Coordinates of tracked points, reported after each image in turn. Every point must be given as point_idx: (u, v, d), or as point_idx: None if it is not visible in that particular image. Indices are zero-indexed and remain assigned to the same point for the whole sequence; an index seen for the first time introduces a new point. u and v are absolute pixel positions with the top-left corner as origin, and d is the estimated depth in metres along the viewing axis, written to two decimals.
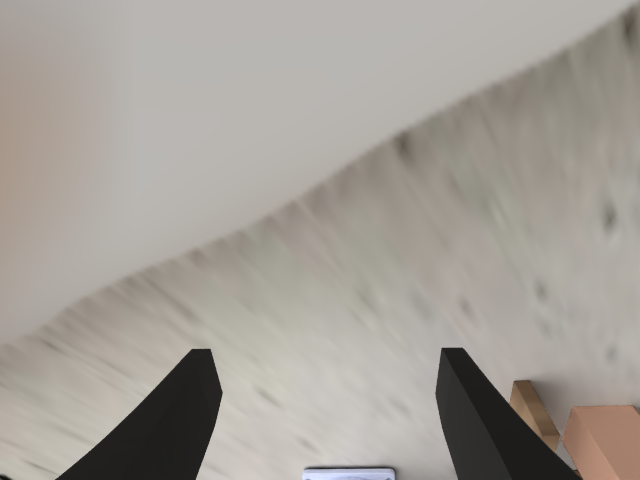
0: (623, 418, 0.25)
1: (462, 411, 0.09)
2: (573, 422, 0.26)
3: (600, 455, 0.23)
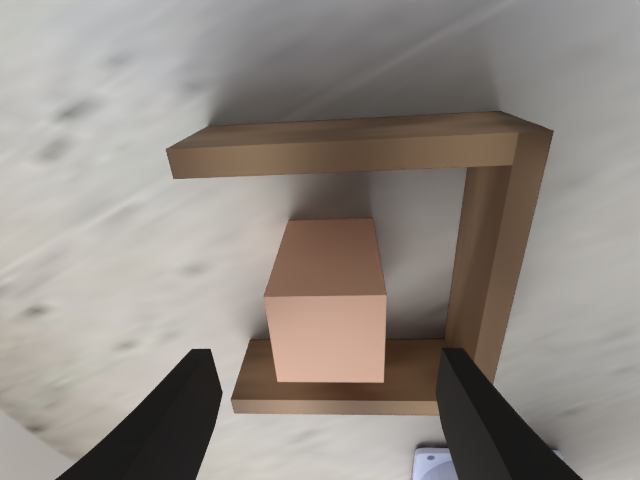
0: None
1: (462, 411, 0.09)
2: None
3: None
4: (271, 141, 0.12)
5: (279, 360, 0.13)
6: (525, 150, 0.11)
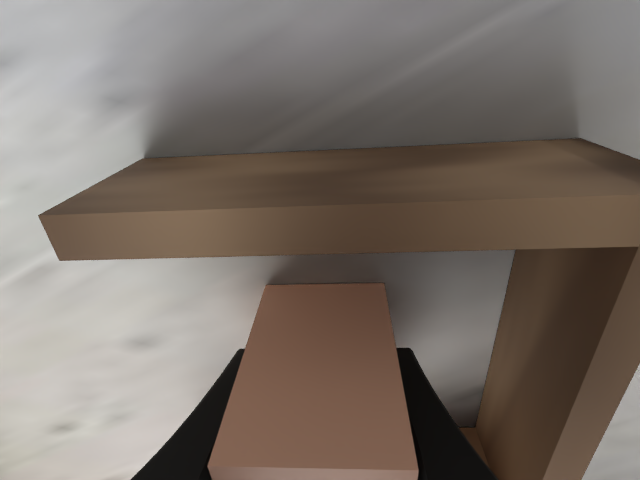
0: None
1: None
2: None
3: None
4: (220, 201, 0.07)
5: None
6: None
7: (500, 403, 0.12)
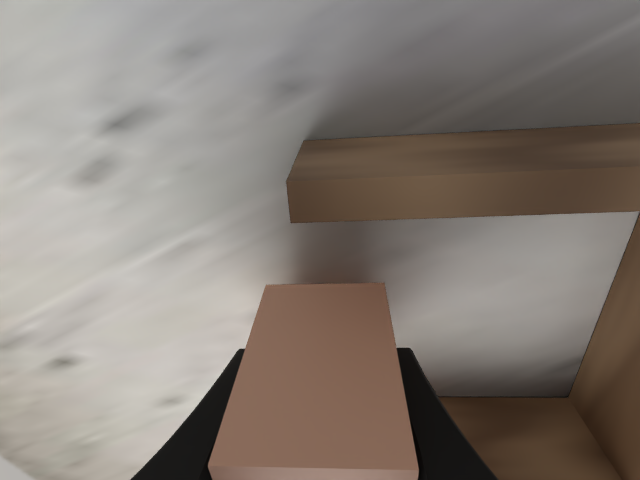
0: None
1: None
2: None
3: None
4: (441, 169, 0.08)
5: None
6: None
7: (609, 369, 0.13)
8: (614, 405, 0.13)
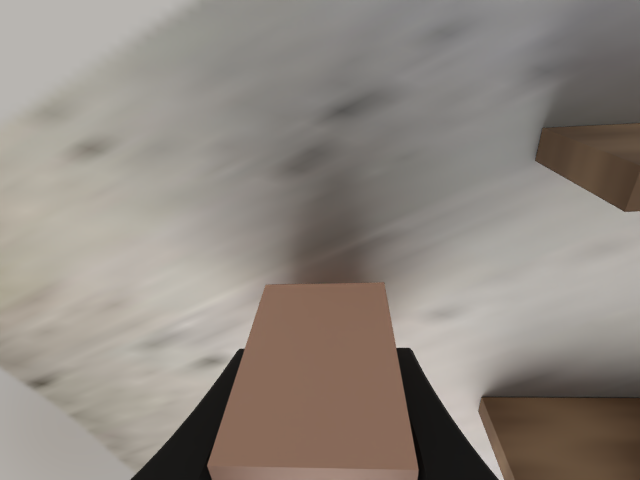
0: None
1: None
2: None
3: None
4: None
5: None
6: None
7: None
8: None
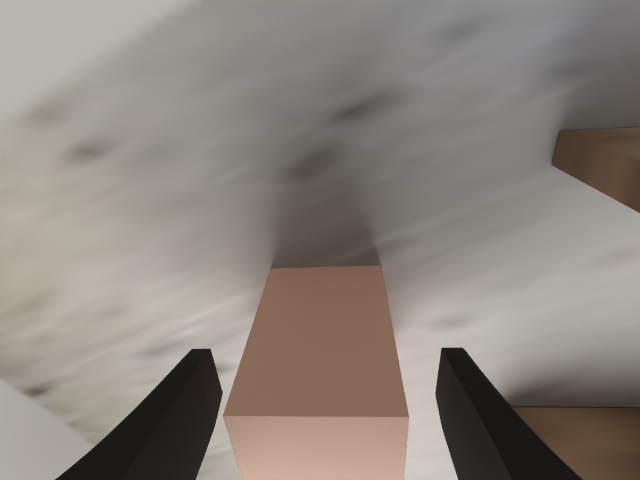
0: None
1: (462, 411, 0.09)
2: None
3: None
4: None
5: None
6: None
7: None
8: None
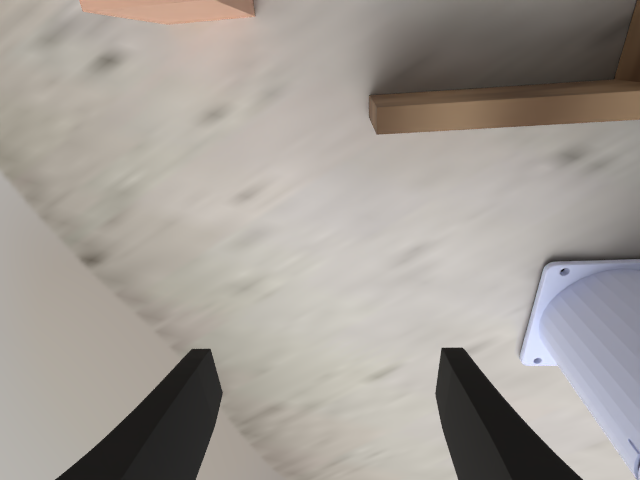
0: None
1: (462, 411, 0.09)
2: (186, 21, 0.15)
3: (139, 18, 0.13)
4: None
5: None
6: None
7: None
8: None
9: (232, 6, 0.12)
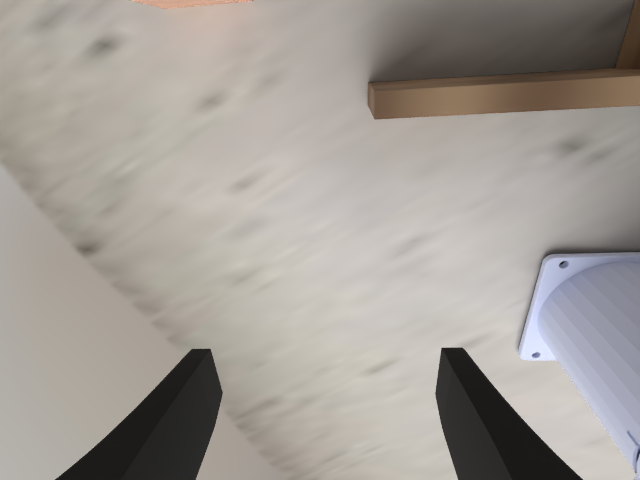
0: None
1: (462, 411, 0.09)
2: (183, 5, 0.15)
3: None
4: None
5: None
6: None
7: None
8: None
9: None
